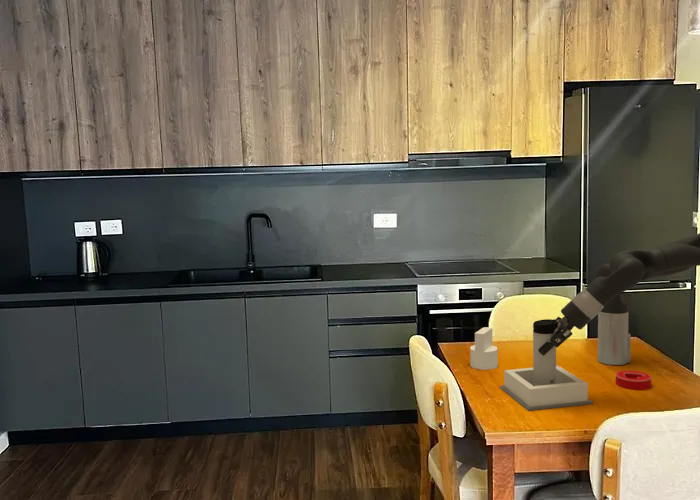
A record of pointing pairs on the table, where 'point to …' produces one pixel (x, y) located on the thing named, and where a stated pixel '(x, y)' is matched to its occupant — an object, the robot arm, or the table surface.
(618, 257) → the robot arm
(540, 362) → the travel mug
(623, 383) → the decorative ornament
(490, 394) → the table surface
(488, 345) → the cylinder with rectangular tab
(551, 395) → the square shallow tray
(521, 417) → the table surface
